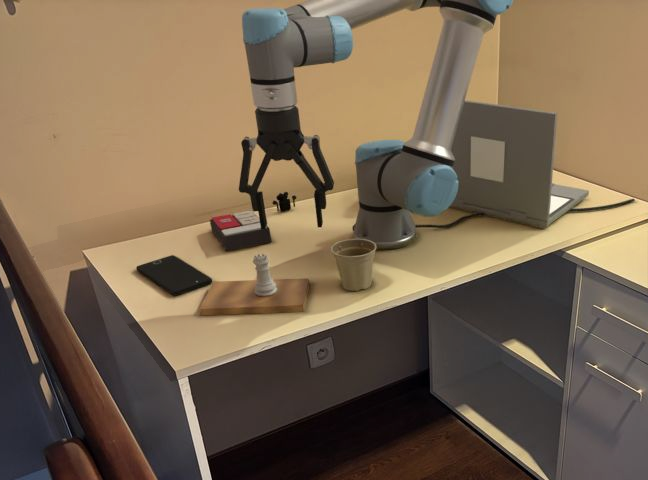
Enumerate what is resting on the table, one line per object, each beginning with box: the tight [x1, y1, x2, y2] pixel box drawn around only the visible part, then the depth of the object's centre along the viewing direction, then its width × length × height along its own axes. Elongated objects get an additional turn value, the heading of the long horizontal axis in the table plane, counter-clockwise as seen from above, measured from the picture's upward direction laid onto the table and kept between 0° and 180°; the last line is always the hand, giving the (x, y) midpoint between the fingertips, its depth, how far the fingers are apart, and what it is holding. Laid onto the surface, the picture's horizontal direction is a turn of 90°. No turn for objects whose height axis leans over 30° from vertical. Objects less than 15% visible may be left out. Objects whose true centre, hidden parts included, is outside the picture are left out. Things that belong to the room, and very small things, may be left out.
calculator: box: [209, 210, 272, 252], centre depth 167 cm, size 11×4×15 cm
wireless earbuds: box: [272, 191, 297, 213], centre depth 181 cm, size 7×2×5 cm, turn 131°
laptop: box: [448, 99, 590, 229], centre depth 180 cm, size 35×26×28 cm
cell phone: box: [135, 254, 213, 296], centre depth 148 cm, size 9×18×1 cm, turn 46°
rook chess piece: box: [252, 253, 277, 297], centre depth 137 cm, size 4×4×8 cm
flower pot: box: [330, 238, 377, 292], centre depth 143 cm, size 9×9×9 cm
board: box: [199, 277, 311, 316], centre depth 139 cm, size 20×12×2 cm, turn 94°
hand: (292, 225), depth 132 cm, fingers open, 10 cm apart
